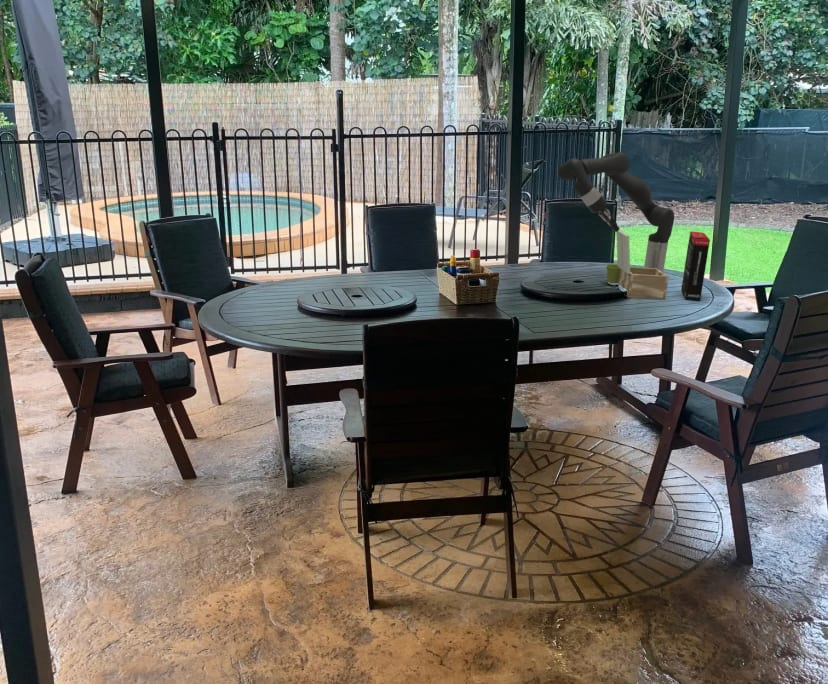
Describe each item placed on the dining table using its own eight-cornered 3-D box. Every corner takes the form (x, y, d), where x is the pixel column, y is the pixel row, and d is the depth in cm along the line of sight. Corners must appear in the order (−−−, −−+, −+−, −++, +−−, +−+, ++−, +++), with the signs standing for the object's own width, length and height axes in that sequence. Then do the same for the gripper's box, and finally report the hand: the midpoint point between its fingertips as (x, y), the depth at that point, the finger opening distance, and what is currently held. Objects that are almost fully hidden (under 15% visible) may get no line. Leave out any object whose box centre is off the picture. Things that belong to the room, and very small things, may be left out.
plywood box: (617, 288, 345) (621, 266, 342) (653, 290, 345) (656, 268, 342) (627, 297, 329) (631, 274, 326) (664, 299, 330) (668, 276, 327)
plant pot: (602, 285, 348) (605, 266, 346) (604, 281, 357) (606, 263, 354) (623, 288, 346) (626, 269, 343) (624, 284, 354) (627, 265, 352)
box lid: (620, 267, 342) (617, 267, 342) (619, 229, 336) (616, 229, 336) (630, 275, 327) (627, 275, 327) (629, 235, 322) (626, 236, 322)
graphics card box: (700, 301, 330) (712, 238, 322) (684, 299, 331) (694, 236, 323) (695, 292, 346) (705, 232, 338) (679, 291, 348) (689, 230, 339)
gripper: (604, 195, 319) (629, 226, 324) (596, 191, 332) (619, 222, 336) (590, 207, 320) (615, 238, 325) (582, 203, 333) (606, 233, 337)
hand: (617, 230), depth 331 cm, fingers closed
